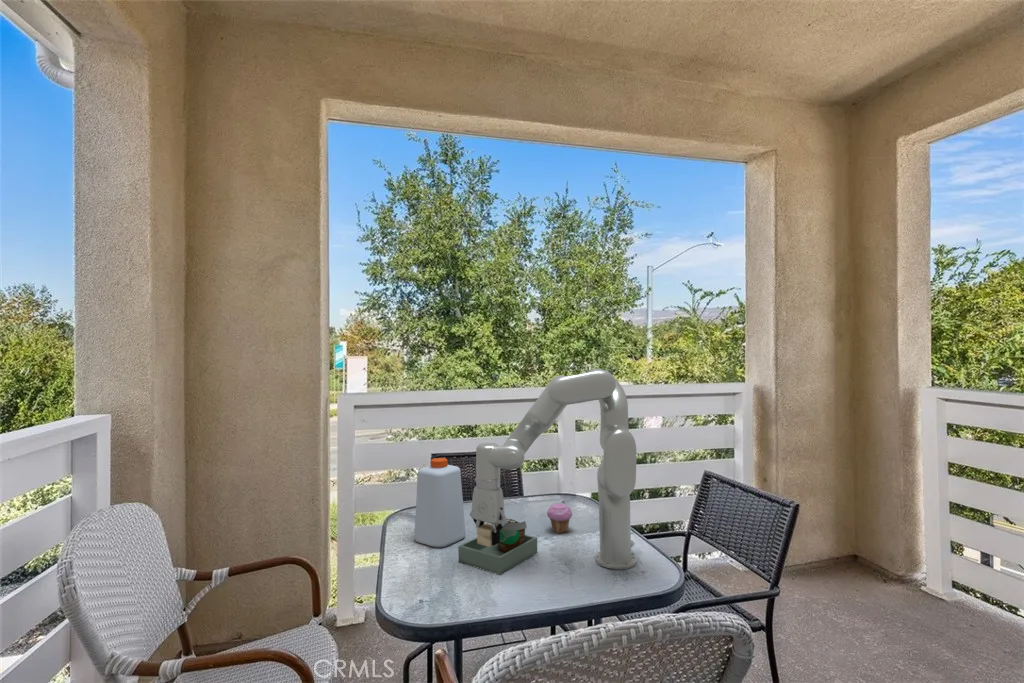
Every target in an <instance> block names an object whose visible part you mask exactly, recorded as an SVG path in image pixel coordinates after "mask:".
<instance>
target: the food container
mask: <svg viewBox="0 0 1024 683" xmlns="http://www.w3.org/2000/svg"><path fill="white" fill-rule="evenodd" d="M507 520H508V524H506V525H505V526H504V527H503V528H502V529H501V530H500V542H499V543H498V550H499V551H500V552H502V553H507V552H509V551H510V550H512V549H514V548H516V547H518V546H520V545H521V544H523V543H524V539H525V535H526V529H527V523H526V521H525V520H524V521H522V522H519V521H517V520H515V519H512V518H507ZM501 522H502V521H501V520H500V523H501ZM496 525H497V523H496Z"/></svg>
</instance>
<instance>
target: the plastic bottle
mask: <svg viewBox="0 0 1024 683" xmlns="http://www.w3.org/2000/svg"><path fill="white" fill-rule="evenodd" d="M461 474H462V473H461V468H460V467H459V466H456V465H452V464H449V462H448V459H447V458H446V457H437V458H432V459H430V465H428V466H425V467H422V468H420V469H419V470H418V471H417V479H416V480H417V482H416V484H417V485H416V502H415V515H414V516H415V521H414V536H413V537H414V540H415V541H416V542H417V543H419V544H422V545H423V544H424V545H426V546H429V547H433V548H445V547H448V546H450V545H452V544H455V543H457V542H459V541H461V540H463V539H464V538H465V537H466V523H465V512H464V499H463V489H462V488H463V486H462V476H461Z"/></svg>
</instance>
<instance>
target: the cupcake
mask: <svg viewBox="0 0 1024 683" xmlns="http://www.w3.org/2000/svg"><path fill="white" fill-rule="evenodd" d="M546 514H547V517H548V518H549V520H550V523H551V528H552V530H553V532H555V533H557V534H560V533H561V534H562V533H567V532H568V531H569V526H570V525H569V522H570V519H572V516H573V512H572V509H571V507H570V506H568V505H567V504H565V503H552V504H551V505H550V506H549V507H548V508H547V512H546Z"/></svg>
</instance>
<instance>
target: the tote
mask: <svg viewBox="0 0 1024 683" xmlns="http://www.w3.org/2000/svg"><path fill="white" fill-rule="evenodd" d="M536 553H537V554H538V537H536V536H533V535H528V534H525V539H524V543H523V544H521V545H520V546H518V547H516V548H514V549H512V550H510V551H509V552H507V553H502V552H500V551H499V550H498V544H496V545H493V546H491V547H487V546H484V545H480V544H477V536H476V537H475V538H472V539H470V540H468V541H466V542H464V543H462V544H459V545H458V562H459V563H461V562H462V563H461V564H464V563H465V564H464V565H467V564H468V565H467V566H470V565H471V567H473V566H475V567H474V568H476V567H478V568H477V569H480V568H481V569H480V570H483V569H484V570H483V571H486V570H487V572H489V571H490V573H492V572H493V574H495V573H496V575H499V576H501V575H503V574H505V573H506V572H508V571H510V570H511V569H513V568H514V566H515V567H516V565H517V566H518V565H520V564H522V563H523V562H525V561H526V559H527V560H528V559H530V558H531V556H532V557H533V556H535V555H537V554H536ZM534 554H535V555H534ZM529 557H530V558H529ZM524 560H525V561H524ZM521 562H522V563H521ZM519 563H520V564H519ZM509 569H510V570H509ZM504 572H505V573H504Z"/></svg>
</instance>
